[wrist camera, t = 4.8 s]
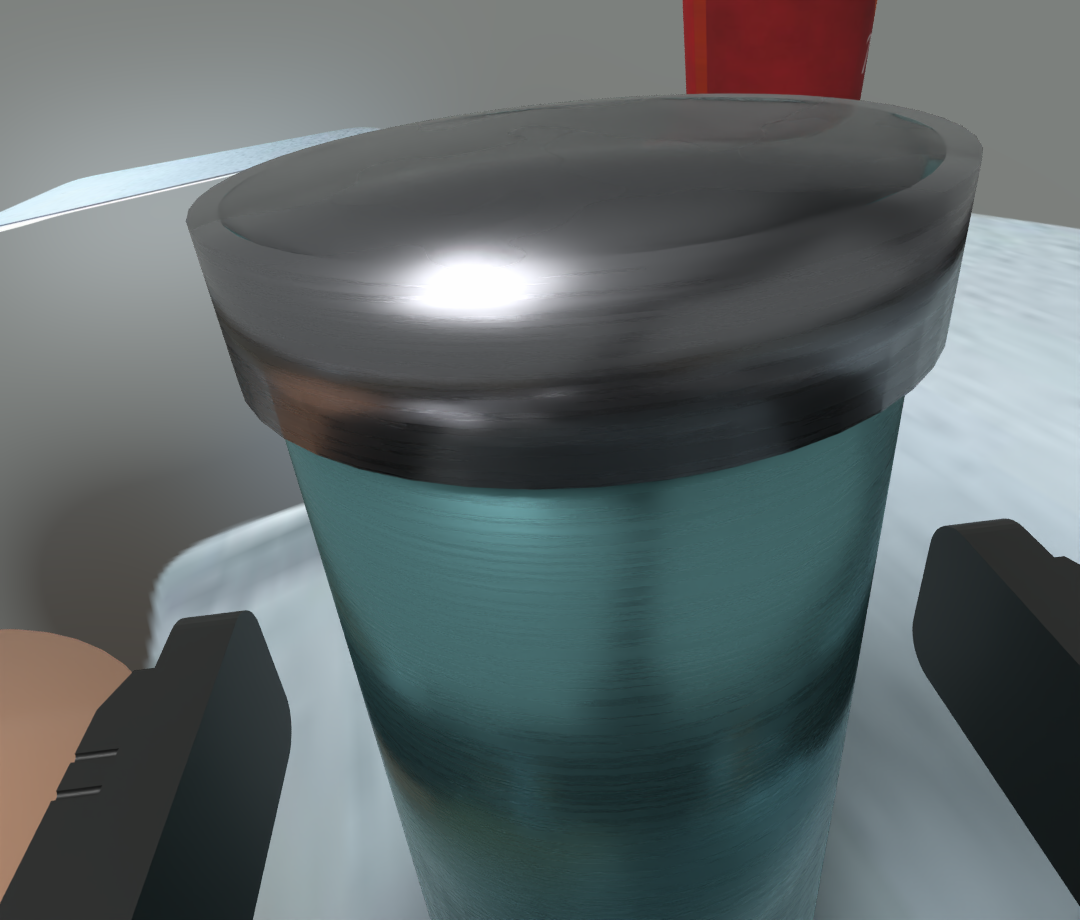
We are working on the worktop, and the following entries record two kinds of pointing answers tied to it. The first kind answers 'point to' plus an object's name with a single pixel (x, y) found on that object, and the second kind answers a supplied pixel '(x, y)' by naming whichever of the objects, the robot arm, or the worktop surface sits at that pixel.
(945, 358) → the worktop surface
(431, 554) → the canister
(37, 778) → the dish
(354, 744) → the worktop surface
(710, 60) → the coffee cup
